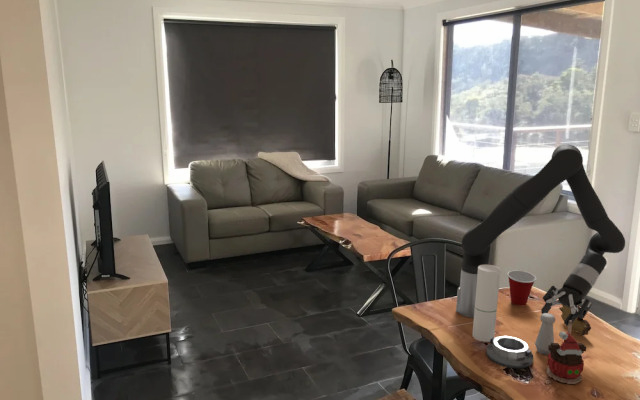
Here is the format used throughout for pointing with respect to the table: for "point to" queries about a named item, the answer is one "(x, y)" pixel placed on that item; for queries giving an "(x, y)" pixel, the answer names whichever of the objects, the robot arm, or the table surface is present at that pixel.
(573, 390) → the table surface
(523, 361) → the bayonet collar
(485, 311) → the cylindrical container
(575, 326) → the wooden carving
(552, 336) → the salt shaker
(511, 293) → the plastic cup
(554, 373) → the cake
